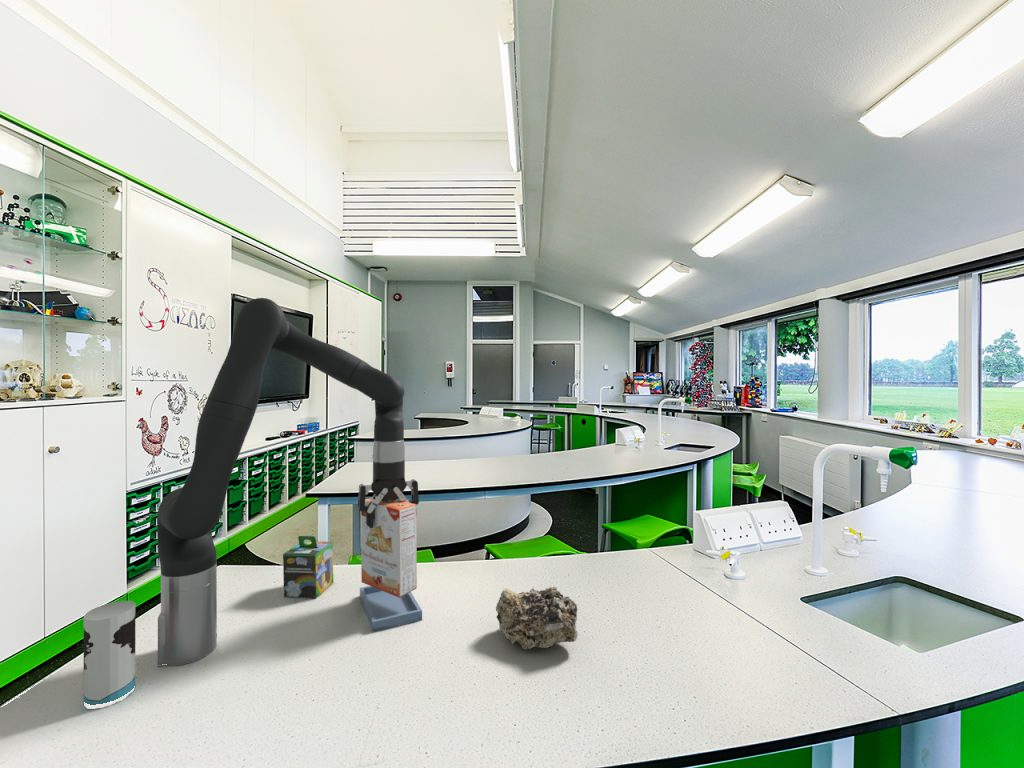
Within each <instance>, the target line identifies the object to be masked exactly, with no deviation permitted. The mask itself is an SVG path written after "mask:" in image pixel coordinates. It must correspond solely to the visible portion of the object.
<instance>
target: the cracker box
mask: <svg viewBox="0 0 1024 768" xmlns="http://www.w3.org/2000/svg"><path fill="white" fill-rule="evenodd" d="M371 498H372V497H369V498H365V505H366V506H367V505H368V504H369V502H370V500H371ZM417 509H418V508H417V505H416V504H412V503H408V502H402V501H401V500H400V499H396V500H394V501H392V500H389V501H385V502H383V501H380V502H379V504H378V505H377V506H376V507H375V508H374V510H373V511H372V512H373V528H371V529H370V528H369V526H367V524H366V512H363V511H362V512H361V511H360V513H361V515H360V516H361V517H360V519H361V521H360V523H361V525H360V526H361V530H360V531H361V539H360V540H361V541H360V542H361V543H360V544H361V547H360V548H361V557H360V558H361V568H360V569H361V583H362V584H365V585H367V586H372V587H374V588H377V589H379V590H382V591H384V592H387V593H389V594H391V595H394V596H396V597H399V598H400V597H402V596H403V595H405V594H407V593H409V592H411V593H412V592H413V591H415V590H417V588H418V587H417V586H418V585H417V583H418V581H417V579H418V578H417V577H418V576H417V570H418V569H417V568H418V567H417V565H418V563H417V560H418V559H417V557H418V556H417V555H418V554H417V550H418V549H417V548H418V546H417V545H418V544H417V539H418V538H417V534H418V532H417V530H418V529H417V518H418V517H417V515H418V513H417V512H418V511H417Z"/></svg>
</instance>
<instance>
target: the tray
mask: <svg viewBox="0 0 1024 768" xmlns="http://www.w3.org/2000/svg"><path fill="white" fill-rule="evenodd" d="M359 598H360V601H361V604H362V606H363V609H364V612H365V615H366V619H367V621H368V624H369V626H370V629H371V632H372V633H375V632H378V631H383V630H388V629H390V628H392V629H393V628H395V627H400V626H403V625H407V624H412V623H415V622H419V621H420V622H421V621H423V610H422V608H421V607H420V605H419V603H418V601H417V600H416V598H415V597H414V595H413V593H412V591H411V592H409V593H407V594H405V595H403V596H402V597H400V598H399V597H396V596H394V595H391V594H389V593H387V592H384V591H382V590H379V589H377V588H374V587H372V586H369V585H367V586H362V587H359Z"/></svg>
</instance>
